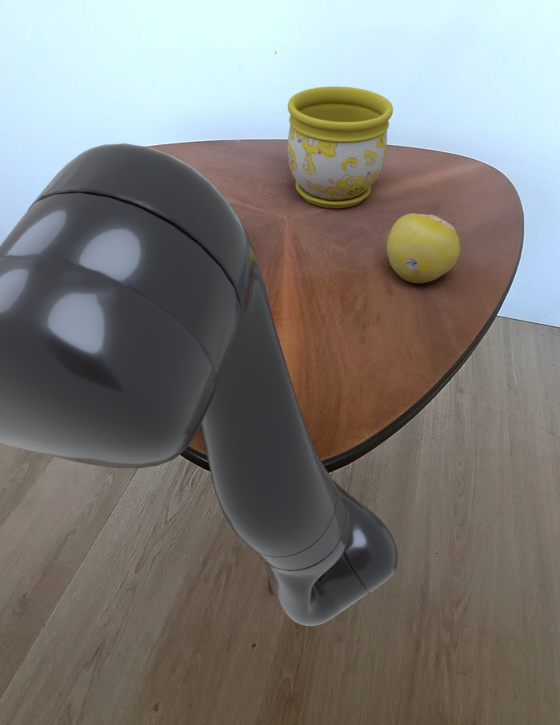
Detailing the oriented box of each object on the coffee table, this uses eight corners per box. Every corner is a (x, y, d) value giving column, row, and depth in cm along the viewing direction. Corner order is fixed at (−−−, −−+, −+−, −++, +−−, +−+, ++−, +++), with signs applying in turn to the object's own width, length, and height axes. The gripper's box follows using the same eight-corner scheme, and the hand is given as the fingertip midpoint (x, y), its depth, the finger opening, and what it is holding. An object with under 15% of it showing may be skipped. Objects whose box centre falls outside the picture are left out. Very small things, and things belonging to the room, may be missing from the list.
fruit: (451, 298, 82) (468, 240, 76) (379, 288, 84) (389, 230, 77) (451, 261, 90) (467, 204, 83) (385, 252, 91) (394, 196, 84)
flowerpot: (269, 183, 108) (269, 95, 97) (345, 164, 115) (354, 80, 103) (316, 225, 97) (323, 131, 86) (399, 202, 103) (415, 112, 92)
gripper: (312, 372, 55) (243, 281, 66) (175, 421, 50) (124, 314, 61) (308, 421, 60) (245, 329, 71) (184, 469, 56) (136, 362, 66)
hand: (189, 322), depth 66 cm, fingers closed on corn cob, 4 cm apart
